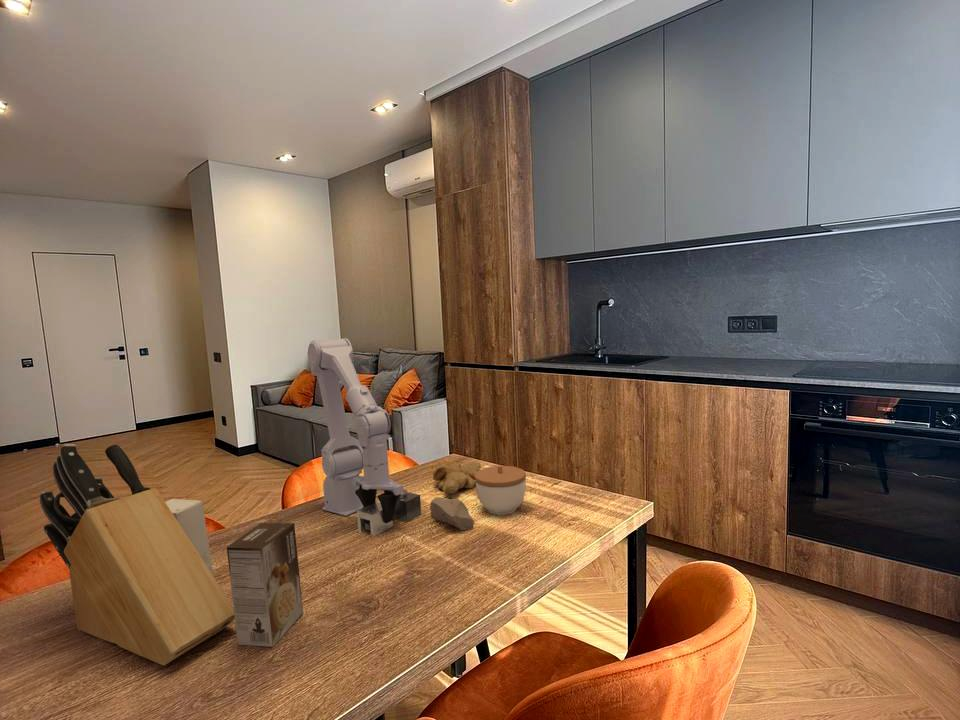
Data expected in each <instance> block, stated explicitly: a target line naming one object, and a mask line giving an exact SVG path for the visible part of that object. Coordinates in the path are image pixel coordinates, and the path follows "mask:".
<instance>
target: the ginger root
mask: <svg viewBox="0 0 960 720" xmlns="http://www.w3.org/2000/svg"><path fill="white" fill-rule="evenodd" d="M461 465H462V463H460V462H459V463H457V462H450V463H446V464H442V465H439V466H437V467H436V468H435V470H434V471H433V472H432V476H433V477H432V480H433V481H435V482H438V486H437V488H438V489H440V490H442V492H444V493H446V494H450V495H451V494H454V493H457V491H458V490H459V489H462V488H465V489H471V488H473V487H474V486H475V474H476V473H477V472H478V471H479V470H481V467H482V465H481V463H480V462H471V463H467V464H464V465H462V466H461Z"/></svg>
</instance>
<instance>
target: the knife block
mask: <svg viewBox="0 0 960 720" xmlns="http://www.w3.org/2000/svg"><path fill="white" fill-rule="evenodd" d="M104 453H105V455H106V457H107V459H108V460H109V461H110V462H111V463H112V465H113V466H114V467H115V468H116V470H117V473H118V475H119V476H120V477H121V479H122V480H123V481H124V482H125V483H126V484H127V485H128V487H129V488H130V492H131V495H128V496H123V497H114V495H113V494H112V493H111V491H110V490H109V489H108V487H106V485H105V484H104V481H103V478H101V477H95V476H94V474H93V473H92V470H91V469H90V468H89V466H88V465H87V463H86V461H85V460H84V459H83V458H82V456H80V454H79V452H78V450H77V445H76V444H73V443H64V444H62V445H61V446H60V451H59V454H58V455H57V456H56V460H54V462H53V464H52V474H53V478H54V480H55V483H56V486H57V488H58V489H59V491H60V492H59V493H58V494H56V496H55V495H54V493H53V491H52V490H50V491H43V492H41V493H40V494H39V503H40V506H41V510H42V511H43V513H44V515H45V517H46V518H47V519H48V521H49V522H50V523H47V524H45V525H44V526H43V530H44V533H45V534H46V535H47V537H48V538H49V539H50V540H49V541H51V543H52V545H53V546H54V548H55V550H56V551H57V553H58V555H59V556H60V558H61V559H62V560H63V562H64V564H65V565H66V567H67V568H68V570H69V579H70V586H71V594H72V600H73V607H74V614H75V620H76V622H75V623H76V627H77V629H78V630H79V631H81V632H84V633H86V634H89V635H91V636H94V637H96V638H99V639H101V640H104V641H106V642H110V643H112V644H117V646H118V647H120V648H122V649H124V650H127V651H129V652H131V653H133V654H136V655H138V656H140V657H142V658H144V659H145V658H146V659H148V660H149V661H152V662H155V663H157V664H159V665H161V666H164V667H165V666H167V664H170V663H171V662H172V661H174V660H175V659H177V658H179V657H180V656H181V655H184V654H185V653H187V652H188V651H190V650H192V649H193V648H194V647H196V646H198V645H199V644H201V643H203V642H205V641H206V640H208V639H210V638H211V637H213V636H215V635H216V634H217V633H219V632H220V631H222V630H223V629H225V628H226V627H228V626H229V625H231V624H232V622H233V621H235V615H234V607H233V604H232V603H231V601H230V600H229V599H228V597H227V595H226V593H224V591H223V589H222V588H221V585H220V584H219V583H218V581H217V580H216V579H215V577H214V575H212V574H211V572H210V571H209V569H208V567H207V566H206V564H205V563H204V561H203V560H202V558H201V556H200V555H199V553H198V552H197V550H196V549H195V547H194V546H193V544H192V543H191V541H190V540H189V538H188V537H187V535H186V533H185V532H184V530H183V529H182V527H181V526H180V524H179V523H178V521H177V520H176V518H175V517H174V515H173V514H172V512H171V510H170V509H169V507H168V506H167V504H166V503H165V502H166V501H165V500H164V498H163V497H162V495H161V493H159V491H158V489H156V488H155V487H154V488H150V487H145V486H144V485H143V484H142V482H141V480H140V478H139V475H138V472H137V471H136V469H135V466H134V464H133V463H132V461H131V460H130V458H129V457H128V455H127V454H126V452H124V450H123V448H121V447H120V445H118V444H113V445H110V446H108V447H107V448H106V449H105V450H104ZM61 498H64V499H65V500H66V501H67V502H68V504H69V505H70V506H71V508H72V509H73V510H74V513H73V514H71V515H70V513H69V512H68V511H67V509H66V508H65V507H64V506H63V505H62V504H61V503H60V502H61Z"/></svg>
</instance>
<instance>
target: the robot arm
mask: <svg viewBox="0 0 960 720" xmlns="http://www.w3.org/2000/svg"><path fill="white" fill-rule="evenodd" d="M353 357H354V349H353V346H352V343H351V342H350V339H348V338H347V337H343V338H337V339H325V340H311V341H310V343H309V345H308V348H307V358H308V363H309V368H310V370H311V371H310V372H311V375H313V376H316V377H317V381H318V386H319V390H320V396H321V400H322V405H323V411H324V415H325V420H326V425H327V430H328V435H329V440H328V441H327V443H326V444H324V446H323V447H322V449H321V450H320V451H321V466H322V471H323V473H324V475H325V476H326V477H325V478H324V480H323V484H322V486H323V487H322V489H323V501H324V502H323V503H324V506H323V507H322V510H323V511H326V512H330V513H335V514H338V515H341V516H345V517H346V516H347V517H348V516H349V515H352V514H354V513H357V510H359V509H362V508H364V507H366V506H368V505H370V504H372V503H375V502H377V501H376V499H378V501H379V503H380V504H381V507H382V511H383V519H384V522H385V523H389V522H390V521H392V520H393V519H394V518H393V515H394V510H395V506H396V503H397V500H398V498H399V496H400V494H401V493H403V489H404V485H403V484H401V483H398V481H397V482H396V481H395V480H393V479H391V478H390V470H389V469H390V468H389V458H388V455H389V454H388V443H387V441H388V440H387V434H388V433H389V432H390V430H391V419H390V416H389V414H388V412H387V410H385V409H383V408H382V407H381V406H379V405H378V404H377V403H376V400H375V399H374V397H373V395H372V393H371V391H370V389H369V388H368V386H366V385H363V384H361V381H360V379H359V378H360V377H359V376H358V374H357V371H356V368H355V366H354V363H353ZM340 382H341V383H342V385H343V387H344V388H345V390H346V391H347V393H346V395H345V399H346V402H347V403H348V406H349V408H350V410H351V412H352V414H353V416H354V418H355V424H354V426H355V430H356V434H357V438H358V439H357V438H355V437H354V436H353V435H352V436H351V435H350V429H349V425H348V424H349V423H348V420H347V415H346V412H345V411H346V410H345V406H344V401H343V400H344V399H343V395H342V392H341V391H342V390H341V388H340ZM344 448H346V449H344ZM336 450H337V451H336ZM362 470H363V472H362ZM362 473H363V475H360V474H362ZM377 491H382V493H380V494H378V495H377ZM393 521H394V520H393Z"/></svg>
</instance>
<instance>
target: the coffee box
mask: <svg viewBox="0 0 960 720" xmlns="http://www.w3.org/2000/svg"><path fill="white" fill-rule="evenodd" d="M226 552H227V553H226V554H227V563H228V570H229V571H228V572H229V579H230V588H231V589H230V590H231V597H232V606H233V608H234V615H235V619H234V621H235V631H236V632H235V633H236V640H237V644H238V645H240V646H253V647H266V648H267V647H269V648H272V647H275V645H277V643H278V642H279V641H280V640H281V639H282V638H283V636H285V634H286V633H287V632H288V630H289V629H291V628H292V626H293V625H294V624H295V623H296V622H297V621H298V620H299V618H300V617H301V615H303V614H304V608H303V598H302V597H303V596H302V589H301V588H302V586H301V577H300V568H299V567H300V566H299V558H298V549H297V537H296V528H295V523H294V522H260V523H258V524H257V525H256V526H254V527H253V528H252V529H251V530H249V531H248V532H246V533H245V534H243V535H242V536H240V537H239V538H238V539H236V540H235V541H233V542H232V543H230V544H229V545H227V546H226Z"/></svg>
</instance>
